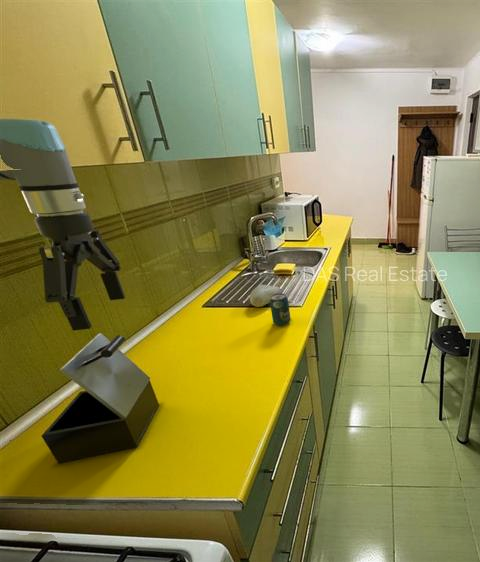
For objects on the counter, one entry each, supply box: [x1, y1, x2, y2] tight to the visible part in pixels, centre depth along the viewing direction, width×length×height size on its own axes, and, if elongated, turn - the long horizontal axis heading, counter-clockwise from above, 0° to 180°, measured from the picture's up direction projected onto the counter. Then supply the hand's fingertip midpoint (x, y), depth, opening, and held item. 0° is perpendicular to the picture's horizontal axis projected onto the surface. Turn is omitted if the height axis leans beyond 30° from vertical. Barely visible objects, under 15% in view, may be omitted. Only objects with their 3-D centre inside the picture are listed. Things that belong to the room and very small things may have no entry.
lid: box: [59, 332, 151, 419], centre depth 71 cm, size 17×14×7 cm
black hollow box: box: [40, 379, 160, 464], centre depth 74 cm, size 16×14×9 cm
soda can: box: [269, 292, 292, 327], centre depth 122 cm, size 7×7×12 cm
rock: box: [249, 284, 282, 308], centre depth 141 cm, size 8×11×20 cm
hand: (101, 312), depth 65 cm, fingers open, 13 cm apart
